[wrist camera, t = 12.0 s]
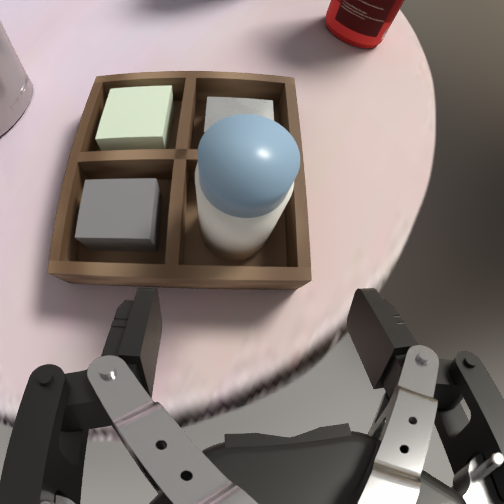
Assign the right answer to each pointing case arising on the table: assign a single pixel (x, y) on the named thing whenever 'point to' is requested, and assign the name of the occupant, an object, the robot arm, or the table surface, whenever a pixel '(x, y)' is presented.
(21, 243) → the table surface
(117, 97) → the note block
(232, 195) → the glue stick
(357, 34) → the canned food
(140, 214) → the eraser
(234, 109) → the grey rectangular block
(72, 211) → the organizer
